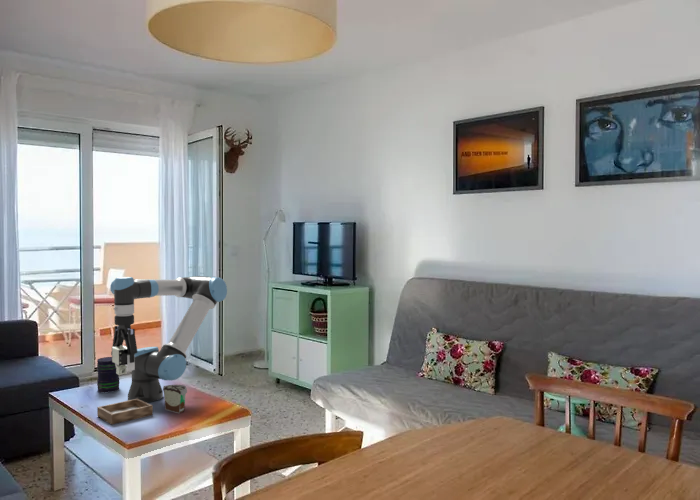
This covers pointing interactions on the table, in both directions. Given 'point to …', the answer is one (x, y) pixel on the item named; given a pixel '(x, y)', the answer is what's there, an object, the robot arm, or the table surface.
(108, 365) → the storage jar
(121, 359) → the pneumatic valve
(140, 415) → the walnut box
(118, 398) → the table surface
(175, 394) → the food container
